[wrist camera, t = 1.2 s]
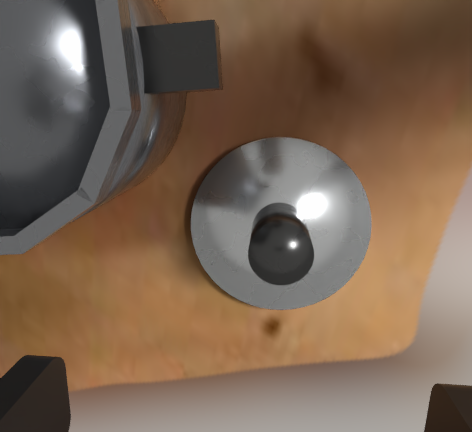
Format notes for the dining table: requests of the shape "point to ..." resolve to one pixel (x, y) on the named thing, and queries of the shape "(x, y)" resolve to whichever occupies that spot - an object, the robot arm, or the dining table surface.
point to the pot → (89, 105)
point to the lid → (281, 223)
